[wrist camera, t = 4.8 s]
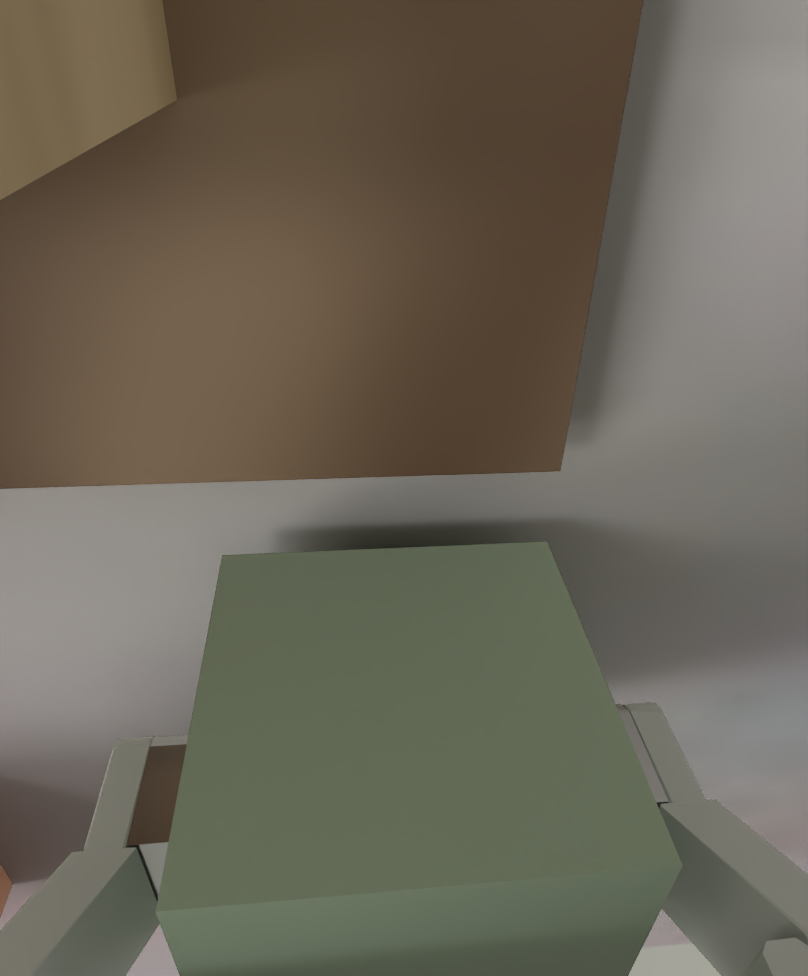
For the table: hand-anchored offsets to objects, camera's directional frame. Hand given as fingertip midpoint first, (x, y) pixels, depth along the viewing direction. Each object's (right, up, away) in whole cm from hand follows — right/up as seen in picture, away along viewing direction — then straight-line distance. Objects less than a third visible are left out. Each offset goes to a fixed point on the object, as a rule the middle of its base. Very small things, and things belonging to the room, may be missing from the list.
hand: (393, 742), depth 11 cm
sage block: (0, +1, +1) cm, 2 cm away
